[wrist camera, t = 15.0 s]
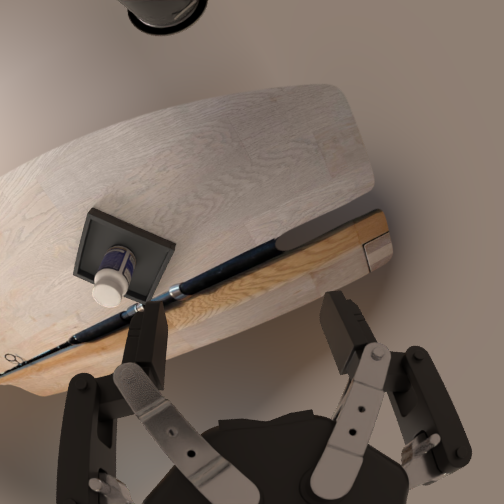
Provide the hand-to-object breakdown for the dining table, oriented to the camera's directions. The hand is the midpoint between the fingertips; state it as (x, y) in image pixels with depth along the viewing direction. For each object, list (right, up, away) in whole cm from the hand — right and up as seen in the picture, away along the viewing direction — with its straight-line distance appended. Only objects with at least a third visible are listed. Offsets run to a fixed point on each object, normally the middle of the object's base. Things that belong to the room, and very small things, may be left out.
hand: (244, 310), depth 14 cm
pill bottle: (-22, +2, +33) cm, 40 cm away
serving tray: (-22, +2, +33) cm, 40 cm away
